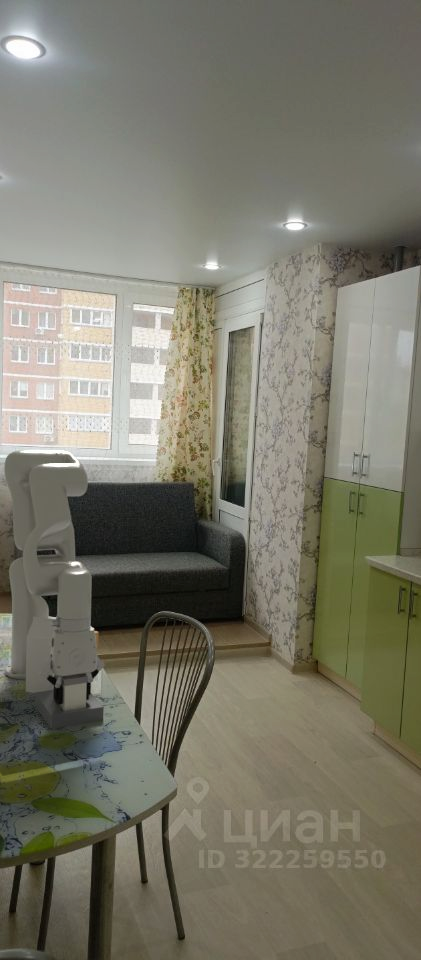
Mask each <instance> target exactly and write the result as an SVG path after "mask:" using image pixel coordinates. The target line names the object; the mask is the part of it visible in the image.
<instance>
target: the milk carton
mask: <svg viewBox="0 0 421 960" xmlns="http://www.w3.org/2000/svg"><path fill="white" fill-rule="evenodd" d="M53 620H56V618H39V617H33V622H32V625H31V627H30V630H29V632H28V635H27V647H26V679H25V693H32V694H35V692H42V691H48V690H54V685H53V684H51V683H50V682H49V681H48V680H47V679H45V678H44V677H43V676H41V674H40V673H39V671H40V670H41V669H42V668H43V666H44V665H45V664H46V663H47V662H48V660H49V659H50V649H51V642H52V637H53V633H54V629H56V628H57V627H55V626H51V621H53ZM48 673H49V674H51V675H52V676H54V673H53V670H51V669H50V670H49V672H48Z"/></svg>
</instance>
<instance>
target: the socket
mask: <svg viewBox="0 0 421 960" xmlns="http://www.w3.org/2000/svg"><path fill="white" fill-rule="evenodd" d="M102 704H103V703H101V702H100V701H99V700H98V699H97V698H96V697H95V696H94V694H92V693H91V694H89V700H86V708H80V709H74V710H69V711H63V712H62V711H61V709H60V708H59V707H58V703H57V702H56V700H54V698H53V690H48V691H42V692H35V693H34V707H36V709H37V710H38V711H39V714H40V715H41V716H42V717H43V718H44V721H45V722H46V723H47V725H48V726H49V728H50V729H51V730H53V729H59V728H65V727H70V726H76V725H81V724H87V723H92V722H96V721H97V722H98V721H103V720H104V705H102Z"/></svg>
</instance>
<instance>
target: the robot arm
mask: <svg viewBox="0 0 421 960" xmlns="http://www.w3.org/2000/svg"><path fill="white" fill-rule="evenodd" d="M4 477H5V480H6V481H5V482H6V484H7V487H8V490H9V492H10V496H11V501H12V502H11V503H12V522H13V523H12V525H13V540H14V544H15V547H16V548H17V549H18V550H19V551H20V550H21V551H23V552H22V556H21V557H18V558H16V559H14V560H13V561H12V562H11V563H10V565H9V569H8V570H9V571H8V576H9V584H10V590H11V603H12V604H11V605H12V607H11V609H12V610H11V657H10V658H11V661H10V663H9V664H8V665H6V666H5V668H4V669H5V672H4V673H5V675H6V676H8V678H9V677H10V678H12V679H15V680H17V679H18V680H26V647H27V635H28V632H29V630H30V627H31V625H32V622H33V617H39V618H49V617H50V616H49V615H50V614H49V613H50V611H49V605H48V603H47V601H46V600H45V599H44V598H43V597H45V596H55V595H56V596H57V602H56V604H57V607H56V609H57V610H56V611H57V613H56V616H55V617H56V618H55V619H56V620H53V621H51V626H55V627H57V628H56V629H54V633H53V637H52V642H51V649H50V659H49V660H48V662H47V663H46V664H45V665H44V666H43V668H42V669H41V670H40V671H39V673H40V674H41V676H43V677H44V678H45V679H47V680H48V681H49V682H50V683H51V684H53V685H54V690H53V698H54V700H56V702H57V703H58V704H59V705H60V704H62V693H63V688H62V687H61V682H62V679H63V677H64V676H71V675H78V674H84V673H85V674H86V675H87V676H88V682H87V686H86V700H89V694H92V683H93V682H94V679H95V678H96V677H97V675H98V674H99V673H100V672H101V671H102V669H103V668H104V667H105V666H106V663H105V662H104V661H103V660H102V659H100V657H99V656H98V651H97V650H98V648H97V647H96V637H95V631H96V630H95V628H94V627H92V625H91V622H92V621H91V619H92V588H93V587H92V586H93V585H92V581H93V580H92V578H93V577H92V573H91V572H90V571H89V570H88V569H87V568H86V567H85V565H84V563H82V562H81V561H77V560H76V543H75V541H76V539H75V528H74V525H73V521H72V515H71V510H70V505H69V500H68V497H82V496H83V495H84V494H86V493H87V490H88V484H89V480H88V474H87V472H86V469H85V467H84V466H83V464H82V463H81V461H80V460H78V458H77V457H75V456H74V455H73V454H72V453H71V452H70V451H66V450H59V449H58V450H57V449H55V450H53V449H50V450H49V449H48V450H46V449H45V450H43V449H23V450H16V451H15V450H14V451H12V452H11V453H9V454H8V455H7V456H6V458H5V461H4ZM50 550H53V551H54V553H55V554H41V555H40V554H37V553H38V551H50ZM49 619H50V618H49ZM50 669H51V670H53V673H54V676H52V675H51V674H49V673H48V672H49V670H50Z"/></svg>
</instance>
